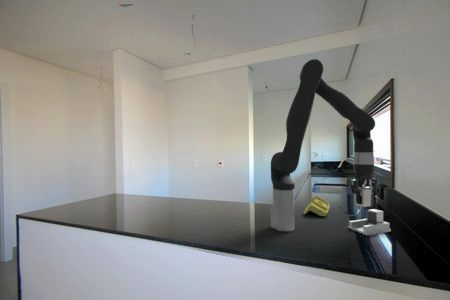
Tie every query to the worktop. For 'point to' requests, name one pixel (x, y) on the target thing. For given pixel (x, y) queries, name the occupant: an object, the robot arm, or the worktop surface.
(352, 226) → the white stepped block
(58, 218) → the worktop surface
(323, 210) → the plastic component
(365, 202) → the block
